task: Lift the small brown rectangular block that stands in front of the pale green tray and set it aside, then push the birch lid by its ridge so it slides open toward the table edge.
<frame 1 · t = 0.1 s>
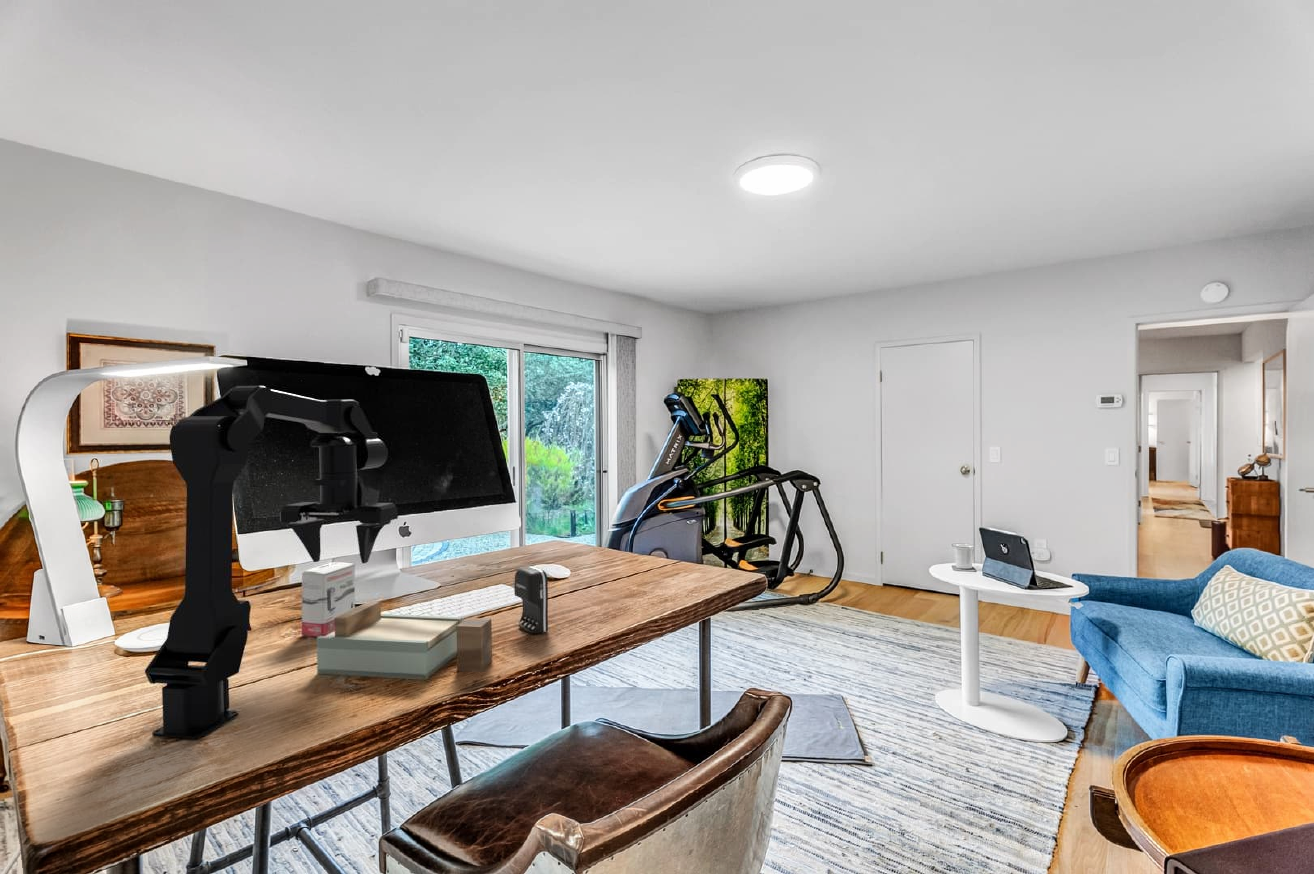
hand: (340, 562, 106), 15 cm above the table, fingers open, 9 cm apart
small brown rectangular block: (475, 665, 97), on the table
lid: (392, 622, 99), point 6 cm above the table, slide at 0.0 cm
ink box: (330, 630, 115), on the table
pale green tray: (393, 661, 99), on the table
black handheld device: (530, 631, 113), on the table
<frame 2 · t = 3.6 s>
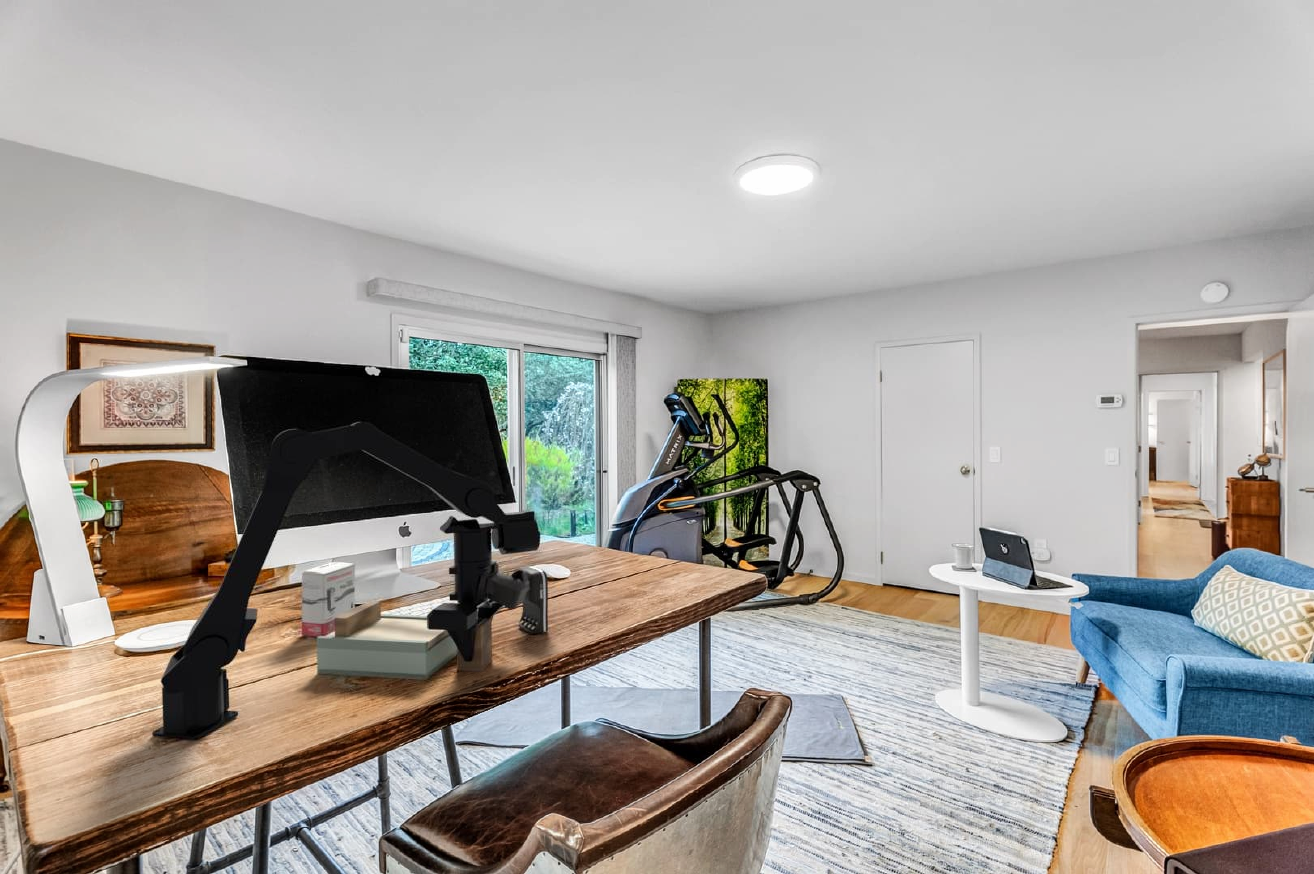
hand: (474, 655, 97), 2 cm above the table, fingers closed on small brown rectangular block, 4 cm apart
small brown rectangular block: (475, 665, 97), on the table, touching gripper
everything else where it was.
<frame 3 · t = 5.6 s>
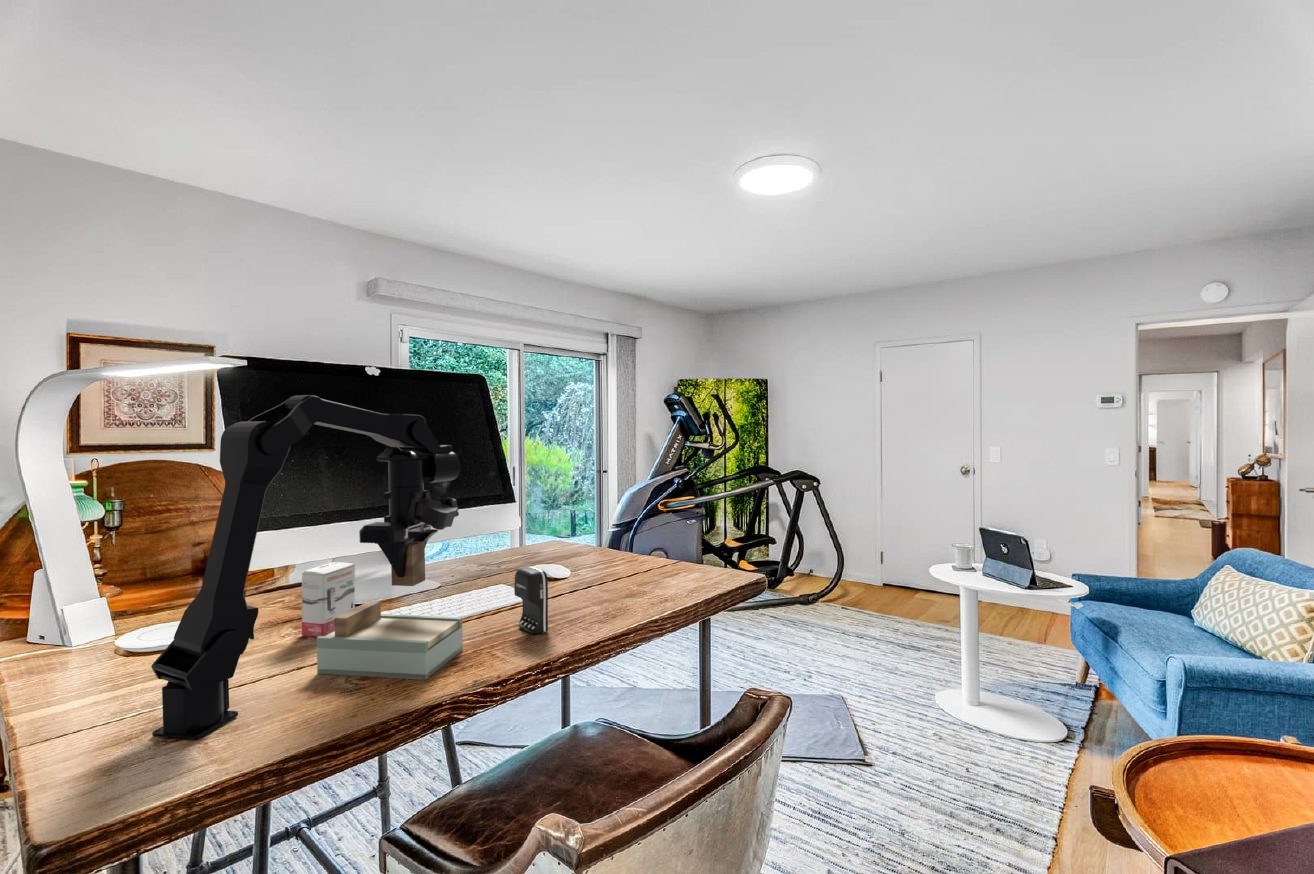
hand: (408, 573, 108), 12 cm above the table, fingers closed on small brown rectangular block, 4 cm apart
small brown rectangular block: (408, 582, 108), point 10 cm above the table, touching gripper
everything else where it was.
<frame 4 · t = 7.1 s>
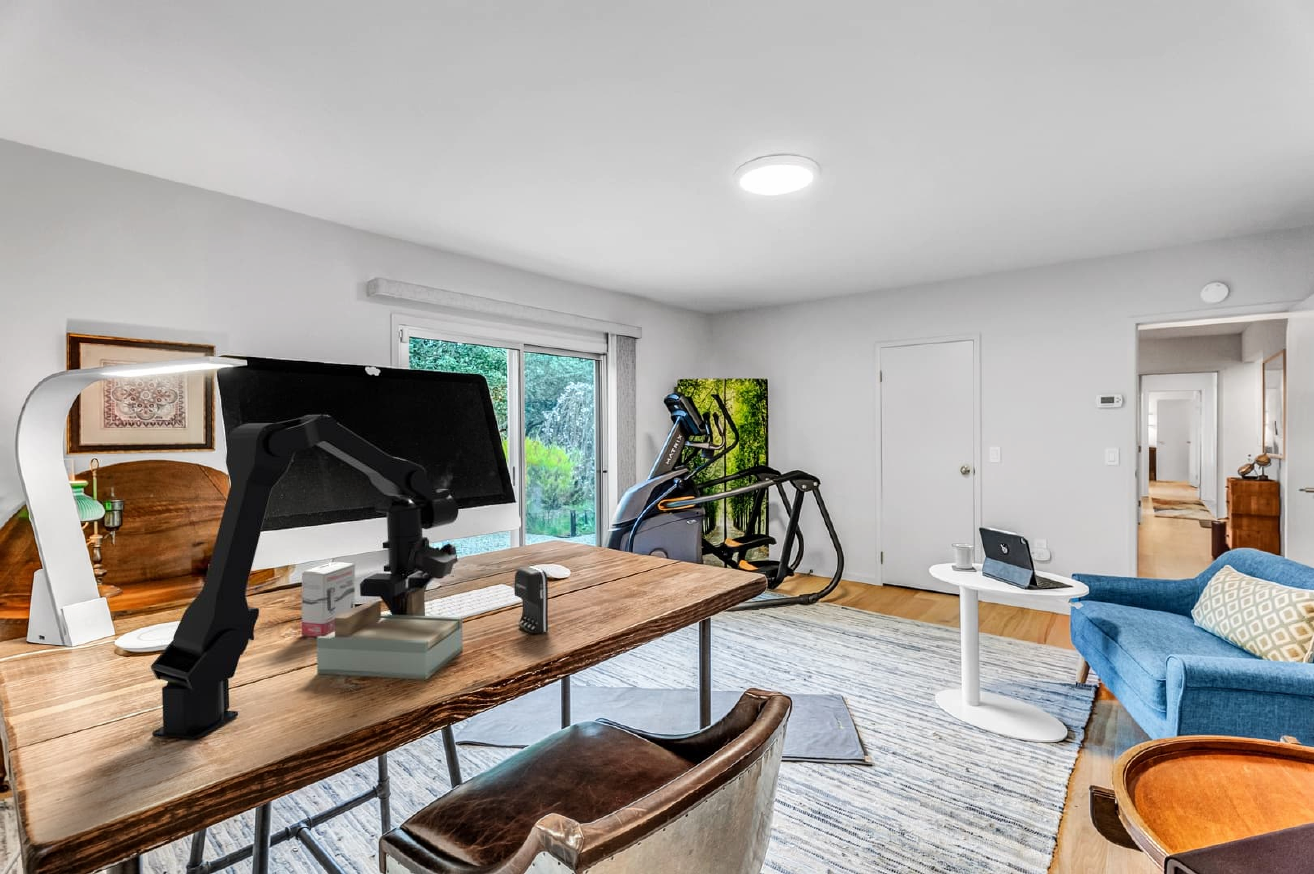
hand: (408, 620, 109), 3 cm above the table, fingers closed on small brown rectangular block, 4 cm apart
small brown rectangular block: (409, 629, 109), point 2 cm above the table, touching gripper
everything else where it was.
when the fingers open (3 cm above the table, at t = 7.9 s): small brown rectangular block drops 2 cm, on the table.
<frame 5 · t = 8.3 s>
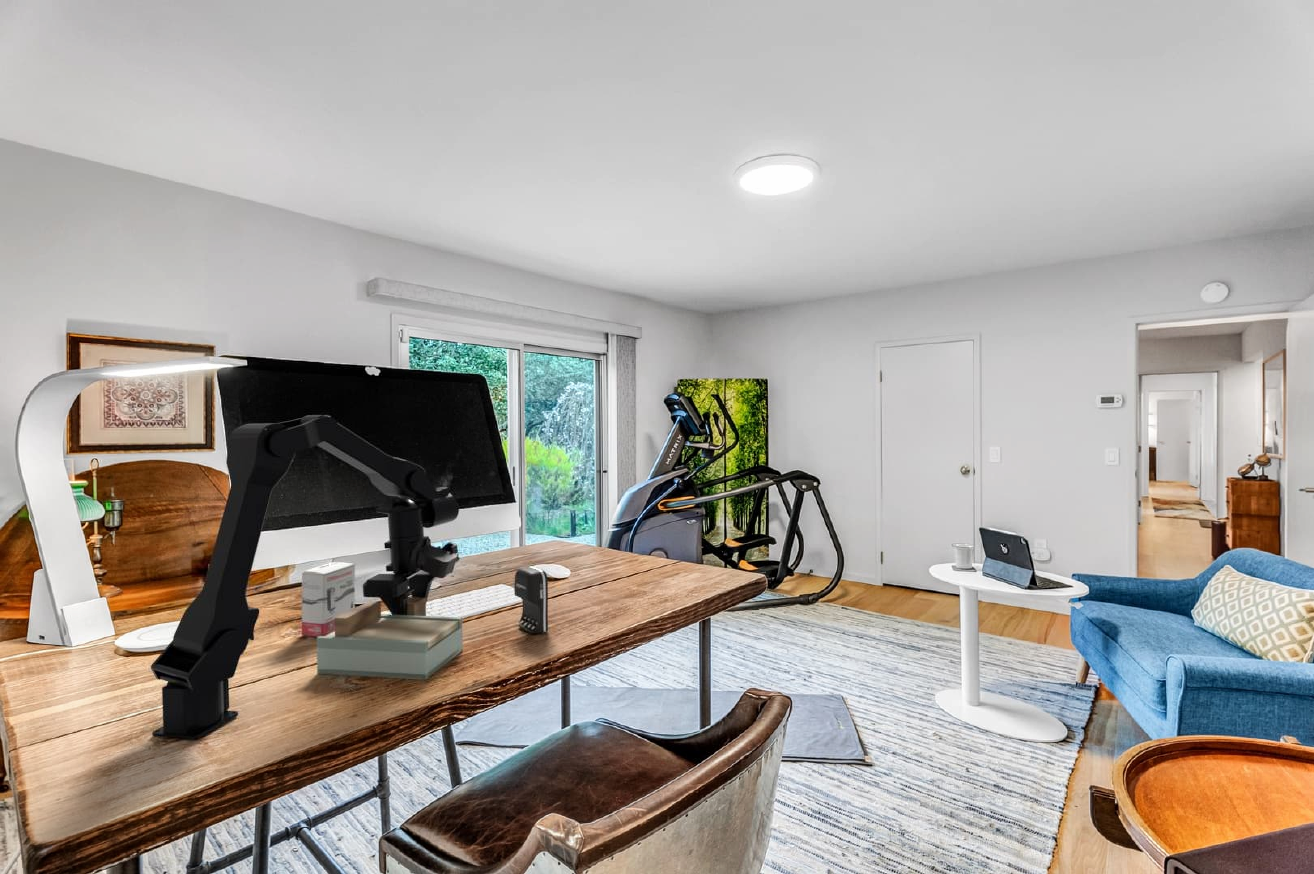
hand: (412, 619, 110), 3 cm above the table, fingers open, 6 cm apart
small brown rectangular block: (410, 639, 109), on the table, touching gripper
lid: (392, 622, 99), point 6 cm above the table, slide at 0.0 cm, touching gripper
everything else where it was.
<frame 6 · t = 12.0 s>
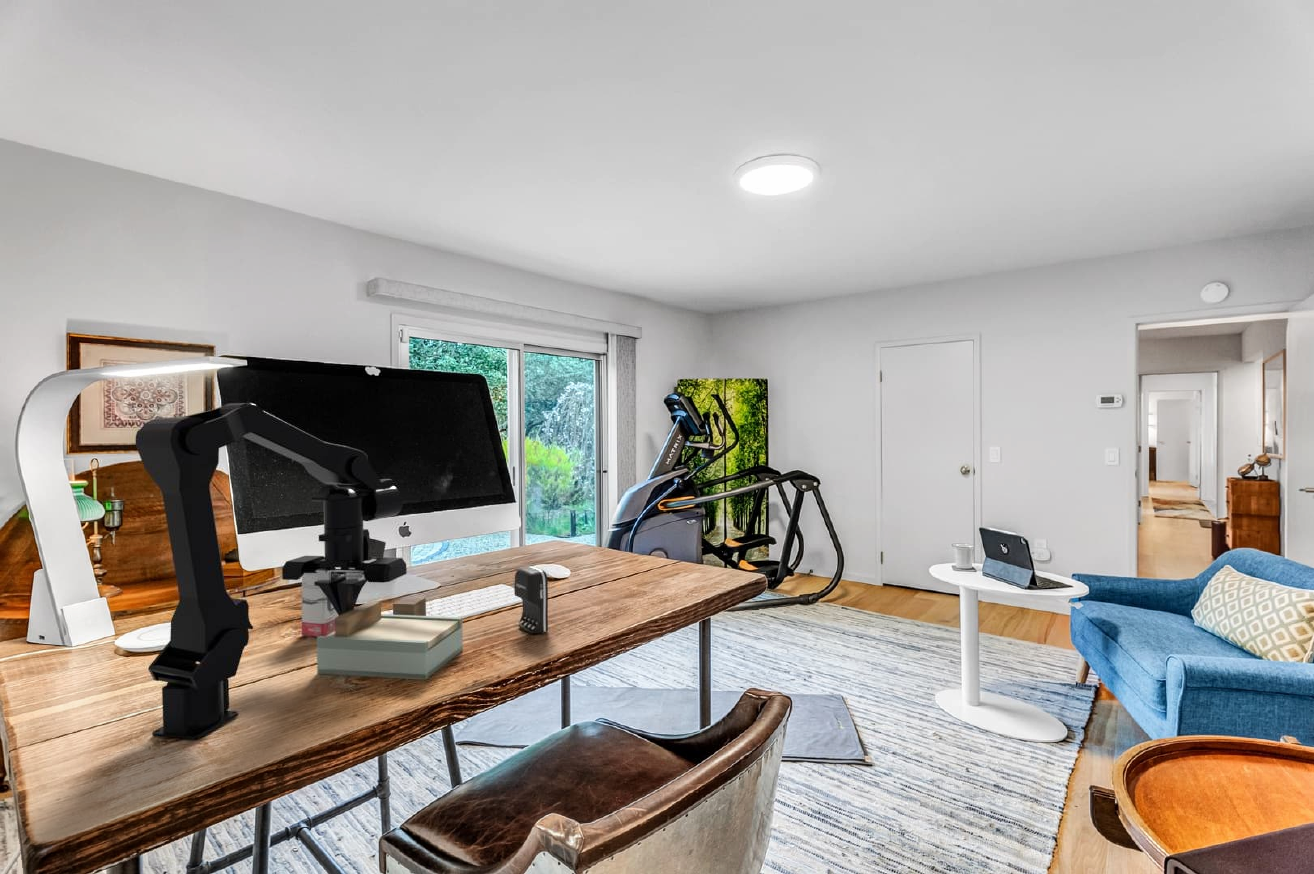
hand: (346, 620, 100), 6 cm above the table, fingers closed
small brown rectangular block: (410, 639, 109), on the table
everything else where it was.
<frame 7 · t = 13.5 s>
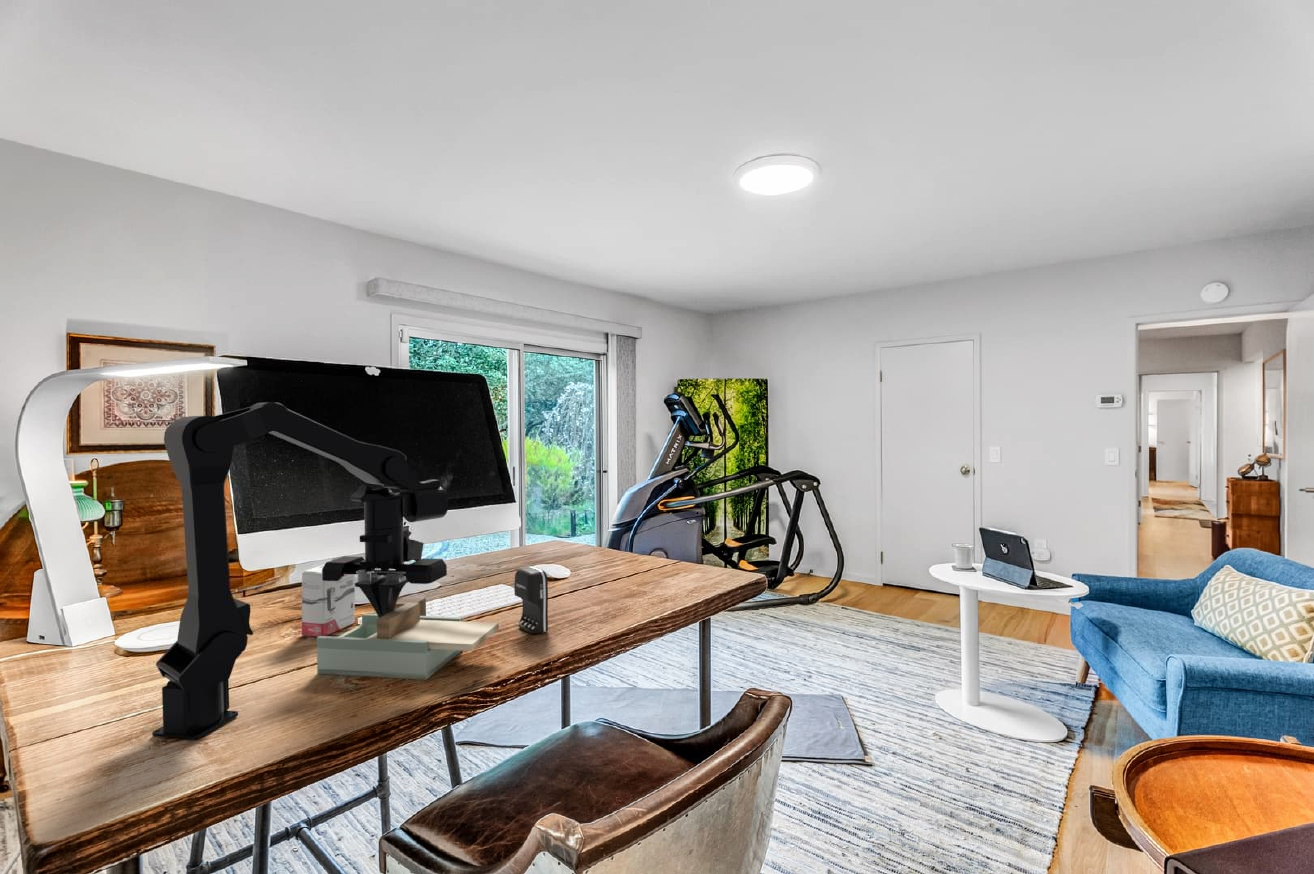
hand: (386, 622, 99), 6 cm above the table, fingers closed
lid: (433, 624, 98), point 6 cm above the table, slide at 7.2 cm, touching gripper
everything else where it was.
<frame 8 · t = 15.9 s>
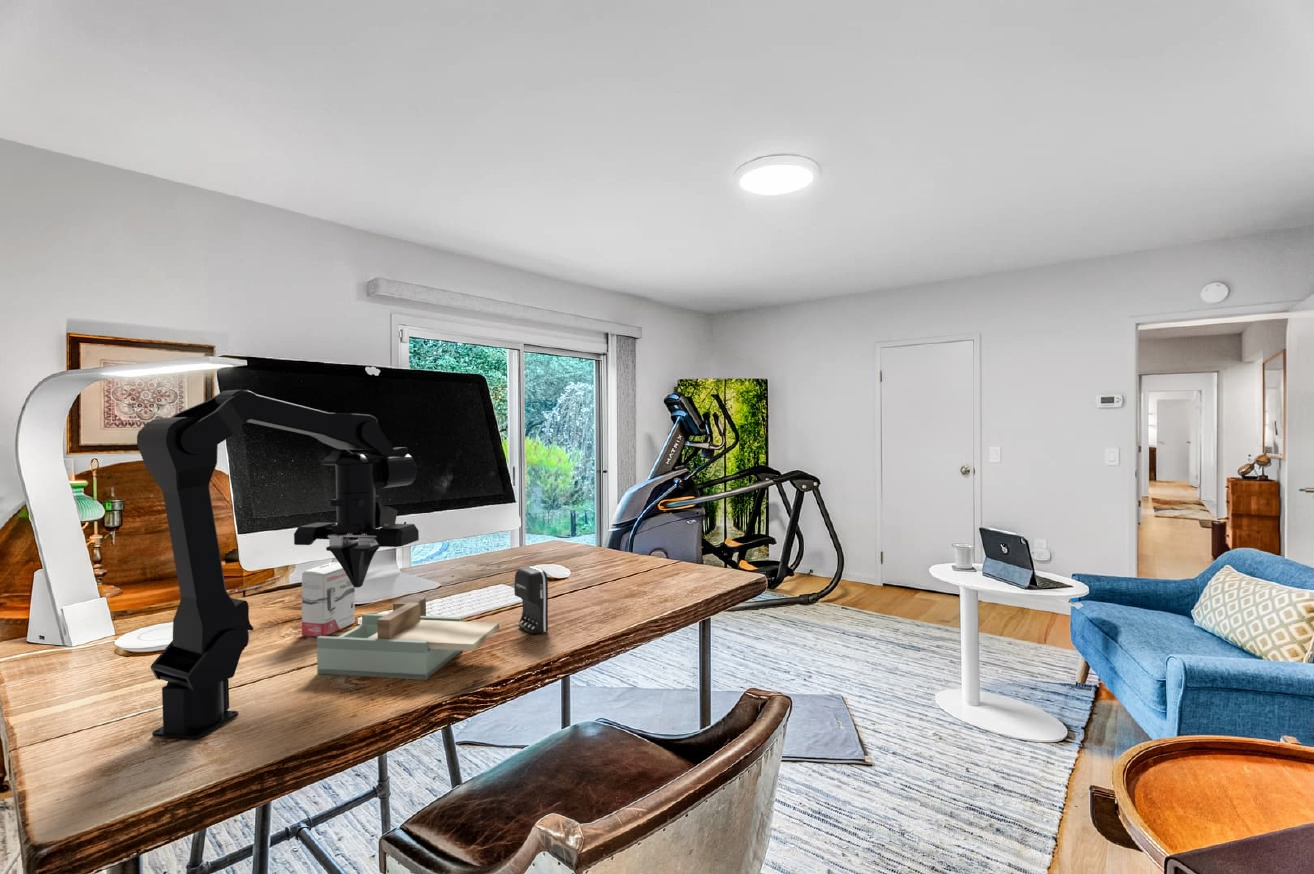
hand: (358, 586, 100), 12 cm above the table, fingers closed
lid: (434, 624, 98), point 6 cm above the table, slide at 7.3 cm
everything else where it was.
at the end: lid slide at 7.3 cm; small brown rectangular block inside the target area (0.8 cm from its centre), on the table; the gripper is holding nothing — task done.
